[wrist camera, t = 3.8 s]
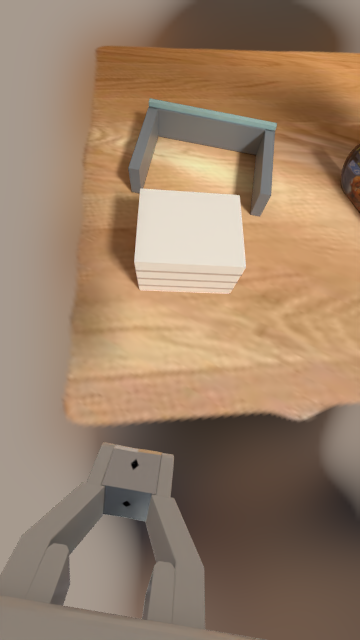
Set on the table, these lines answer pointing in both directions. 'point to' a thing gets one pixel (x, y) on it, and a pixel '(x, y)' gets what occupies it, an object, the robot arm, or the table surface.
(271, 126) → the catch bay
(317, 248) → the table surface
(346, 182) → the tin
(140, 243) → the tile stack
